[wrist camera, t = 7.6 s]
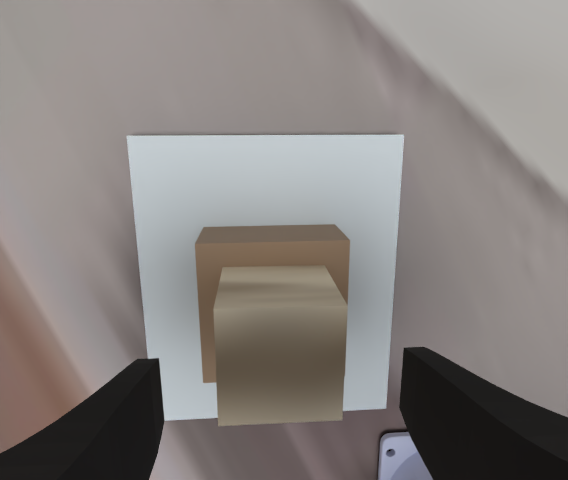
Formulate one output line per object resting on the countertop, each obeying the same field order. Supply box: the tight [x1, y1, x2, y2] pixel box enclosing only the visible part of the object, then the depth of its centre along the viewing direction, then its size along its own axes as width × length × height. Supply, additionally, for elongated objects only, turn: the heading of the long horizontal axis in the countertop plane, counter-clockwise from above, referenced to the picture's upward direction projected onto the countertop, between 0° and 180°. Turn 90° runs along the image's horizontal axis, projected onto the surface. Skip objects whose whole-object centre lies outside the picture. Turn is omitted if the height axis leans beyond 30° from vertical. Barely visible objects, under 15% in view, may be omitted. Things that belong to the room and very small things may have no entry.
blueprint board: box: [127, 135, 404, 421], centre depth 18 cm, size 14×12×4 cm
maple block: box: [213, 265, 348, 426], centre depth 15 cm, size 4×4×4 cm
